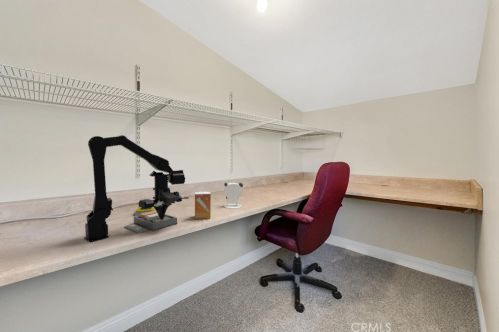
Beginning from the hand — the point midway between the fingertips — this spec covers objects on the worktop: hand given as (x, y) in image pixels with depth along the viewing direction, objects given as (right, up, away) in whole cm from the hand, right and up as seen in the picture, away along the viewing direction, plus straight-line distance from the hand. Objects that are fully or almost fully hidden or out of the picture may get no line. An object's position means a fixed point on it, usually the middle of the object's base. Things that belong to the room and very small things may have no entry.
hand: (161, 219), depth 103 cm
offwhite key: (-4, -1, +3) cm, 5 cm away
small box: (+16, -3, +15) cm, 22 cm away
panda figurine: (+30, -1, +39) cm, 49 cm away
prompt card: (-10, -3, -4) cm, 11 cm away
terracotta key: (-9, 0, +6) cm, 11 cm away
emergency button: (-18, -2, +23) cm, 29 cm away
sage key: (0, -2, 0) cm, 2 cm away
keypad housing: (-4, -3, +3) cm, 6 cm away
